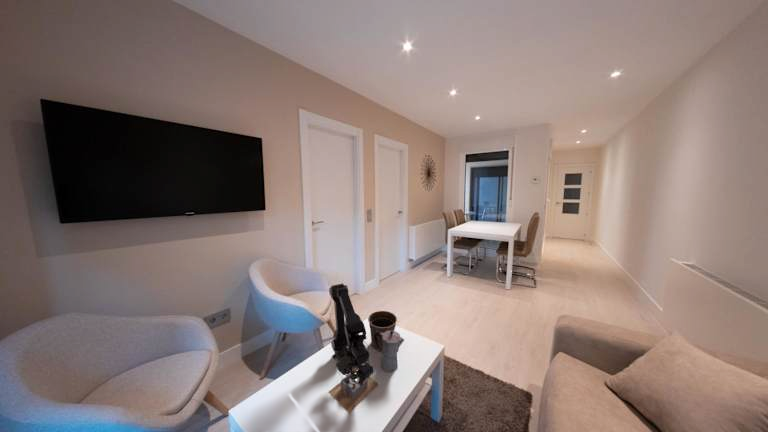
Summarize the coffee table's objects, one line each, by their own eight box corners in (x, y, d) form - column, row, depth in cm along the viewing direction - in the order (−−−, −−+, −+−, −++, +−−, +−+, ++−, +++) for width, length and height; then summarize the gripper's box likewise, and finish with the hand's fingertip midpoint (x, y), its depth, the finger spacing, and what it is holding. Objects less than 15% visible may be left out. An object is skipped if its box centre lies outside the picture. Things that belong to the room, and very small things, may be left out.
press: (338, 390, 103) (338, 382, 102) (355, 376, 110) (355, 369, 109) (351, 402, 98) (351, 394, 97) (367, 387, 105) (367, 379, 104)
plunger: (344, 387, 104) (344, 373, 103) (354, 378, 108) (354, 365, 107) (353, 395, 100) (353, 381, 99) (363, 386, 104) (363, 372, 103)
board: (328, 393, 102) (328, 391, 102) (358, 368, 116) (358, 367, 116) (349, 415, 93) (349, 413, 93) (379, 385, 107) (379, 384, 106)
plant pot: (370, 333, 142) (371, 309, 140) (397, 336, 140) (398, 311, 137) (365, 352, 126) (365, 326, 124) (394, 356, 124) (395, 329, 122)
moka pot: (402, 377, 111) (403, 339, 108) (370, 371, 114) (371, 335, 111) (404, 362, 120) (405, 327, 117) (375, 357, 123) (375, 323, 120)
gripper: (325, 346, 101) (326, 378, 104) (354, 370, 89) (354, 405, 91) (345, 334, 109) (346, 363, 112) (374, 354, 97) (374, 386, 100)
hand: (354, 378), depth 103 cm, fingers open, 9 cm apart
